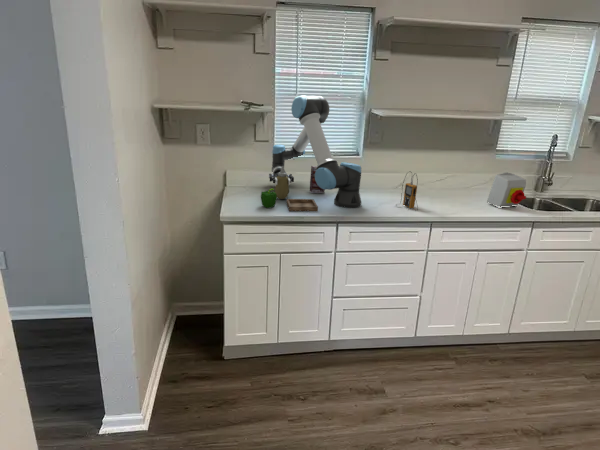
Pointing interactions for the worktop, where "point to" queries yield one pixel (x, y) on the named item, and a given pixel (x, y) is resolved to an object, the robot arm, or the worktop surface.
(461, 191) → the worktop surface
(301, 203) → the walnut tray
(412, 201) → the multimeter
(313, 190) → the supplement box
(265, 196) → the bell pepper
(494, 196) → the electrical switch box
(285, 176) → the squeeze bottle
